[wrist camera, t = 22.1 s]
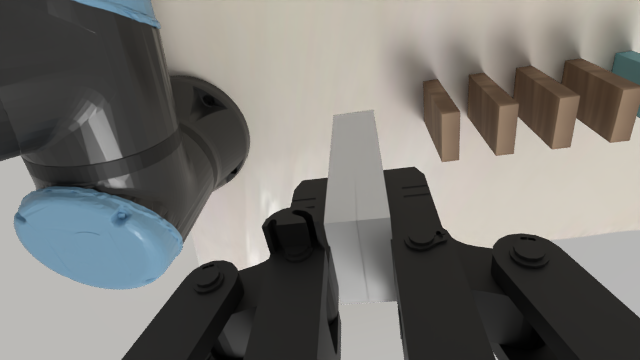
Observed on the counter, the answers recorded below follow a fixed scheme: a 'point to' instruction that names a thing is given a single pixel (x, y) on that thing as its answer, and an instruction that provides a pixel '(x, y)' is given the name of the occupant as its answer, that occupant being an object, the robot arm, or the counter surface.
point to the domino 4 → (603, 99)
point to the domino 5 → (628, 67)
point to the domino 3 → (546, 106)
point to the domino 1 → (442, 120)
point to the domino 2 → (492, 113)
